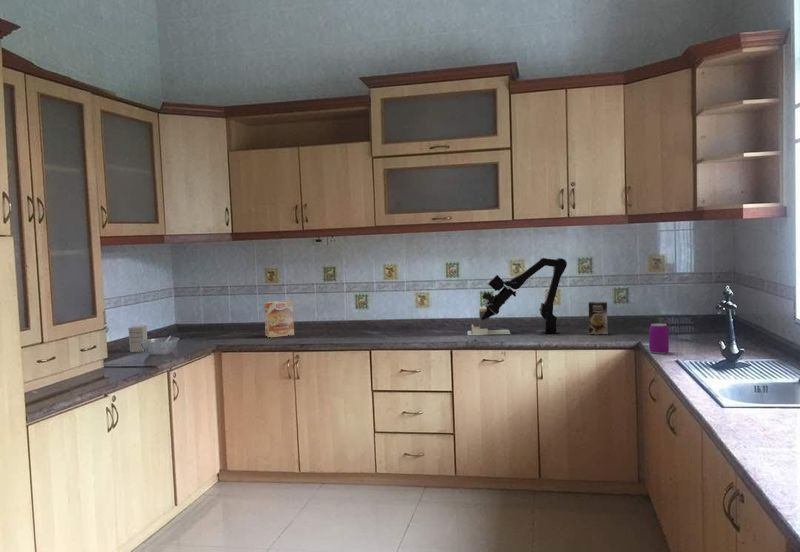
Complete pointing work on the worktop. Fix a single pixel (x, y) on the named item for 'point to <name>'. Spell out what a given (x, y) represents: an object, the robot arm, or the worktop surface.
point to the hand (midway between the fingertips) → (481, 318)
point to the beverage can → (659, 338)
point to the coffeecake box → (279, 318)
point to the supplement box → (137, 337)
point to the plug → (485, 322)
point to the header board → (486, 331)
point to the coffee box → (597, 317)
